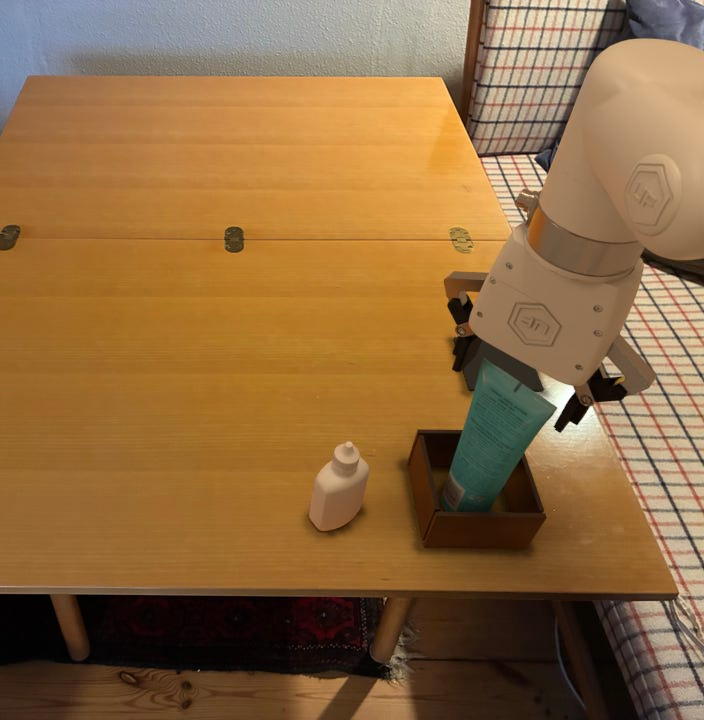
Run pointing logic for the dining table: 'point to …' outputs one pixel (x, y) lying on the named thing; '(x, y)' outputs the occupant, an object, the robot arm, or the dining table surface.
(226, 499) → the dining table surface
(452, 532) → the tube holder
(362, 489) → the eye dropper bottle
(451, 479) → the tube
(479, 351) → the mat
